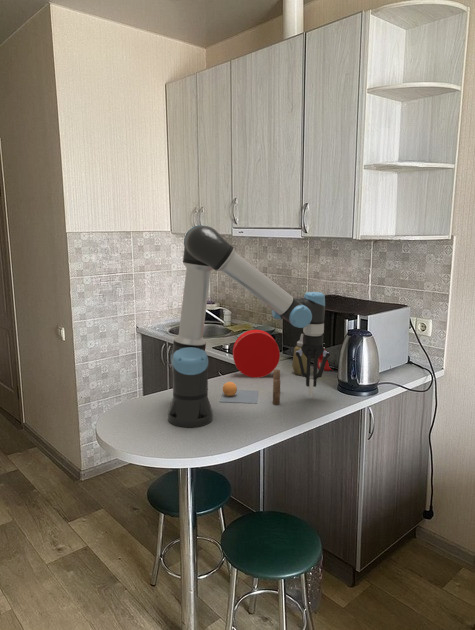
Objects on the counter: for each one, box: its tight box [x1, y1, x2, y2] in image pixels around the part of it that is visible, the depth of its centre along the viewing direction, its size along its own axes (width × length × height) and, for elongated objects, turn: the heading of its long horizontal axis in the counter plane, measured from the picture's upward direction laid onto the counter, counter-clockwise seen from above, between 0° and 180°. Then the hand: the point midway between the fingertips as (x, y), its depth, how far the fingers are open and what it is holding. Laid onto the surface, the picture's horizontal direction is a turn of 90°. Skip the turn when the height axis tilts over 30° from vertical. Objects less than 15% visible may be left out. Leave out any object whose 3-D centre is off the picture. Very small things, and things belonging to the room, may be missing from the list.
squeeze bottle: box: [291, 333, 311, 376], centre depth 221 cm, size 8×8×18 cm
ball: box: [222, 381, 238, 396], centre depth 192 cm, size 6×6×6 cm
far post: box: [272, 368, 281, 381], centre depth 196 cm, size 3×3×9 cm
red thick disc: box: [232, 329, 281, 379], centre depth 216 cm, size 20×6×20 cm, turn 93°
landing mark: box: [219, 389, 260, 405], centre depth 192 cm, size 14×14×1 cm
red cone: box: [317, 347, 333, 372], centre depth 229 cm, size 8×8×11 cm
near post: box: [272, 379, 281, 406], centre depth 184 cm, size 3×3×9 cm
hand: (310, 394), depth 189 cm, fingers closed
